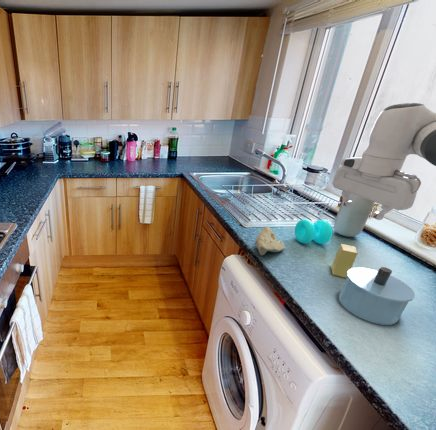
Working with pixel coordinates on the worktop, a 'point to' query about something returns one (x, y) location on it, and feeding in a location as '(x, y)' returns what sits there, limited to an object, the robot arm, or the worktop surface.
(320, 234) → the donuts
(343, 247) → the butter
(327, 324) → the worktop surface
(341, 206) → the grey bottle
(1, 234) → the worktop surface
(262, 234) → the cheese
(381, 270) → the pot lid
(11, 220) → the worktop surface
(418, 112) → the robot arm
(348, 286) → the pot
